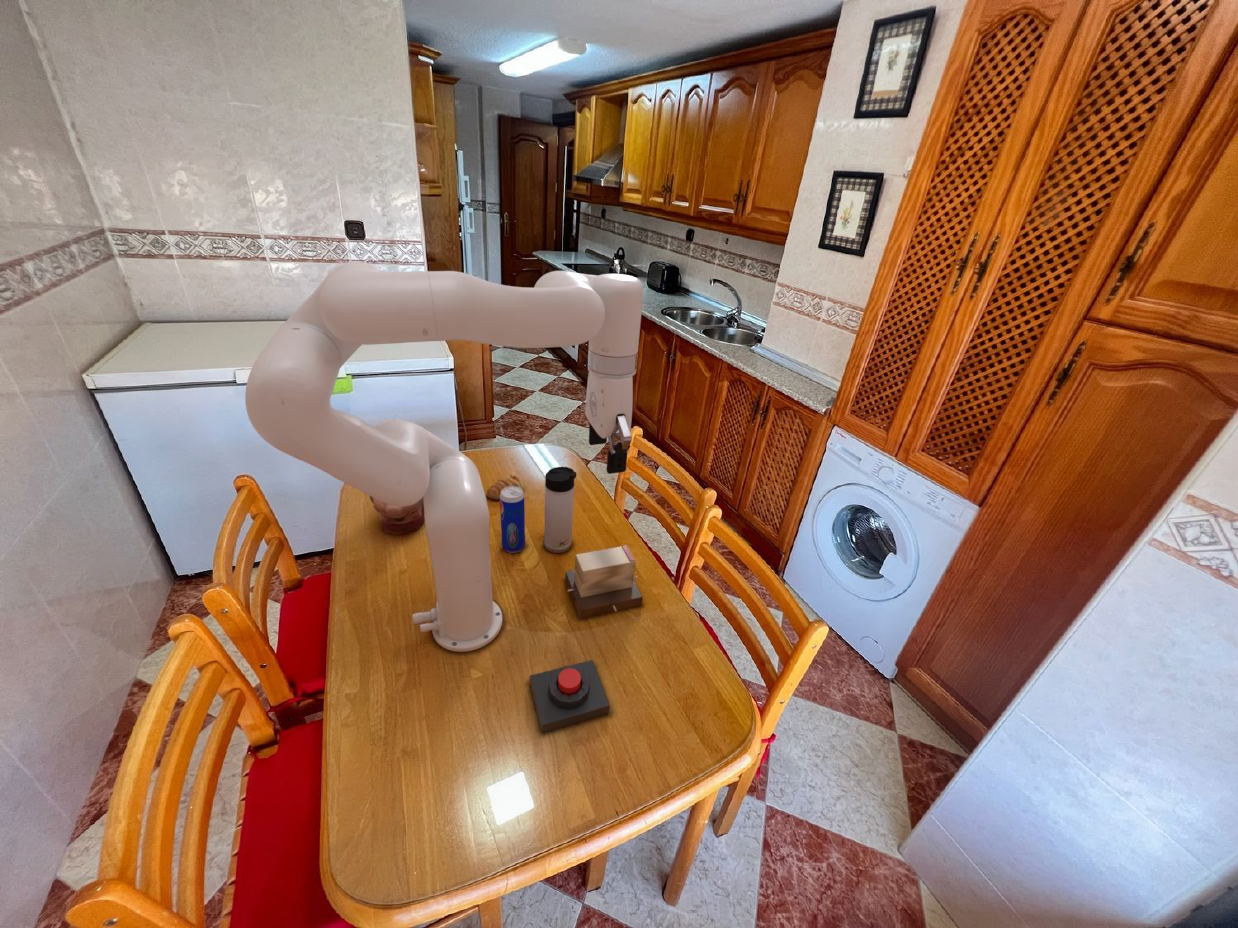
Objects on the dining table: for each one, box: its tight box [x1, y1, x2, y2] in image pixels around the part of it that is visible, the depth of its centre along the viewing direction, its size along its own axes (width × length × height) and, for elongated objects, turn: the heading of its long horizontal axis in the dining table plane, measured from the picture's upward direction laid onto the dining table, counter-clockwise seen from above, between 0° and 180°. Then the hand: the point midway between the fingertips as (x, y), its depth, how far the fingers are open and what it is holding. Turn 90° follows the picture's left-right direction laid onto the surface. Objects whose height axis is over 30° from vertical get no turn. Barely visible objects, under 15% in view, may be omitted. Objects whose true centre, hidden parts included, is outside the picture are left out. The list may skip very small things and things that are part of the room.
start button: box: [558, 668, 581, 695], centre depth 79 cm, size 4×4×2 cm
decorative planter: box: [369, 495, 425, 534], centre depth 114 cm, size 20×12×14 cm, turn 23°
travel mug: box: [543, 466, 577, 554], centre depth 109 cm, size 6×7×20 cm
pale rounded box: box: [574, 544, 637, 598], centre depth 100 cm, size 11×5×7 cm, turn 110°
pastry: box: [486, 474, 525, 501], centre depth 129 cm, size 9×7×4 cm
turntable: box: [564, 569, 643, 620], centre depth 102 cm, size 15×15×3 cm
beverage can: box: [499, 486, 526, 554], centre depth 109 cm, size 5×5×15 cm
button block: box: [529, 659, 611, 734], centre depth 81 cm, size 11×9×4 cm
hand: (606, 457), depth 85 cm, fingers open, 9 cm apart
